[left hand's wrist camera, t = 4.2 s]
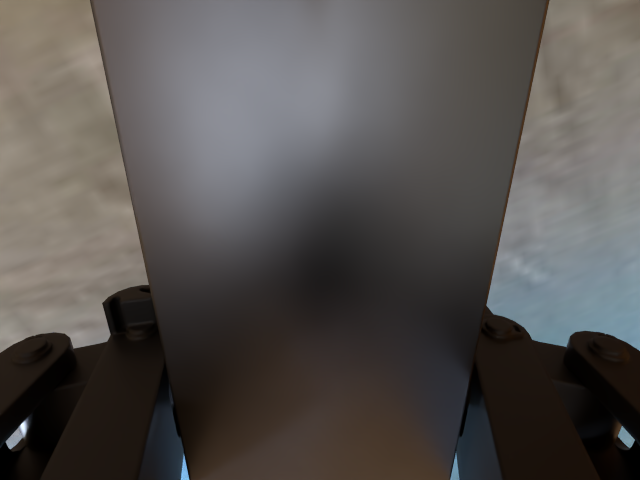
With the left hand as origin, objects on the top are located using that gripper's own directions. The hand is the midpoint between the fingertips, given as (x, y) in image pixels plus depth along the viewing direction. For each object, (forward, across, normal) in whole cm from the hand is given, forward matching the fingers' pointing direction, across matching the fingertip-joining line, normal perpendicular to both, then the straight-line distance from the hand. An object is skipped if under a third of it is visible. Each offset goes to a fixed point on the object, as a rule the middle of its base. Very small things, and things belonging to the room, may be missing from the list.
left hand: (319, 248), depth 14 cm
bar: (+1, 0, -8) cm, 8 cm away
